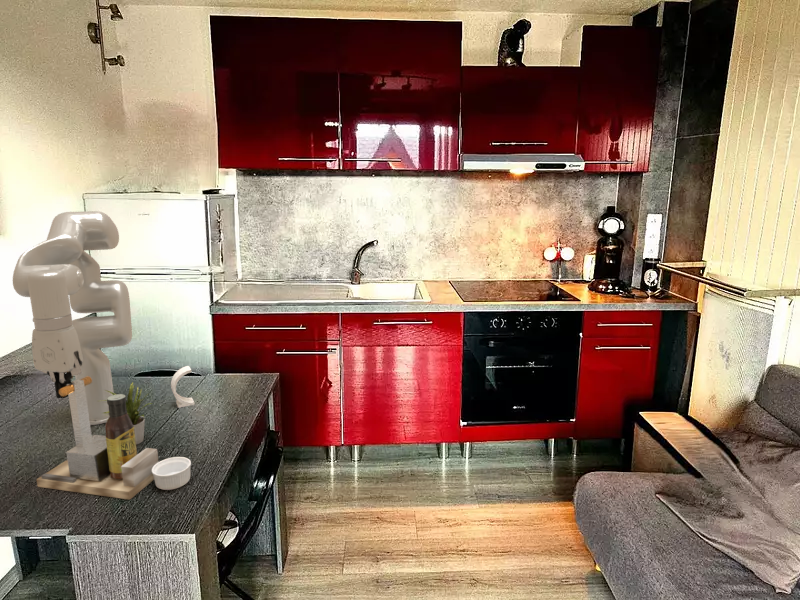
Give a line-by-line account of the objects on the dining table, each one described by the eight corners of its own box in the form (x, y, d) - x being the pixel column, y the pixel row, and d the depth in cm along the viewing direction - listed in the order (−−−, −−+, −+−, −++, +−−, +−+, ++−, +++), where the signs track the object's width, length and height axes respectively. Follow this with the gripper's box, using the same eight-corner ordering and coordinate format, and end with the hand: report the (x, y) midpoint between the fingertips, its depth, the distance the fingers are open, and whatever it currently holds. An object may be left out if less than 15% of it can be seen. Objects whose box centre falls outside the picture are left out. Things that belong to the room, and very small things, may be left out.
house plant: (106, 433, 159) (99, 380, 155) (158, 425, 164) (152, 373, 160) (100, 456, 146) (92, 399, 142) (157, 446, 151) (151, 391, 147)
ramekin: (153, 495, 128) (151, 478, 128) (153, 476, 136) (151, 460, 135) (193, 486, 132) (191, 470, 131) (191, 469, 140) (189, 453, 139)
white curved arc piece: (194, 404, 178) (191, 369, 175) (174, 408, 175) (171, 373, 173) (192, 399, 182) (188, 365, 179) (172, 403, 179) (169, 368, 176)
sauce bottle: (128, 481, 130) (118, 404, 126) (104, 479, 131) (93, 402, 127) (144, 467, 137) (135, 392, 132) (121, 465, 138) (112, 391, 133)
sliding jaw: (70, 477, 132) (56, 389, 127) (97, 458, 140) (86, 375, 135) (99, 481, 130) (86, 391, 125) (126, 462, 139) (115, 377, 133)
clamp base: (37, 486, 132) (33, 460, 130) (79, 459, 144) (75, 435, 143) (130, 499, 127) (126, 472, 125) (165, 470, 139) (162, 445, 137)
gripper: (13, 325, 126) (25, 399, 130) (67, 329, 123) (79, 405, 127) (40, 317, 133) (51, 387, 137) (93, 320, 130) (102, 392, 134)
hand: (64, 396), depth 132 cm, fingers closed
